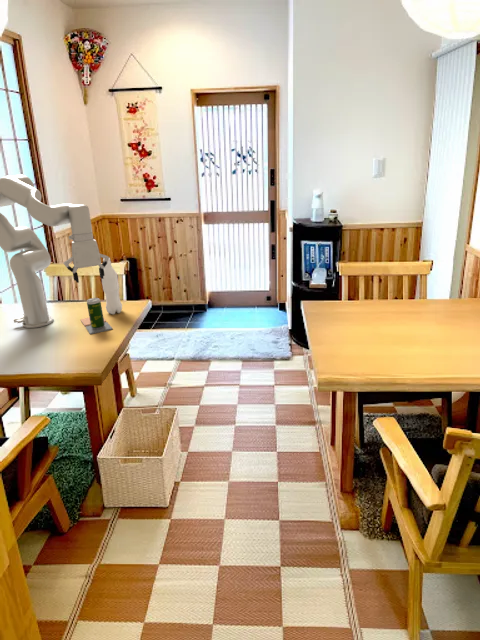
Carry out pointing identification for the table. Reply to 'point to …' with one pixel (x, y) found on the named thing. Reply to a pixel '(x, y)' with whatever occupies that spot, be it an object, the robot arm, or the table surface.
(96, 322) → the beer can
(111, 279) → the water bottle
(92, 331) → the slate coaster
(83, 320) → the terracotta coaster
